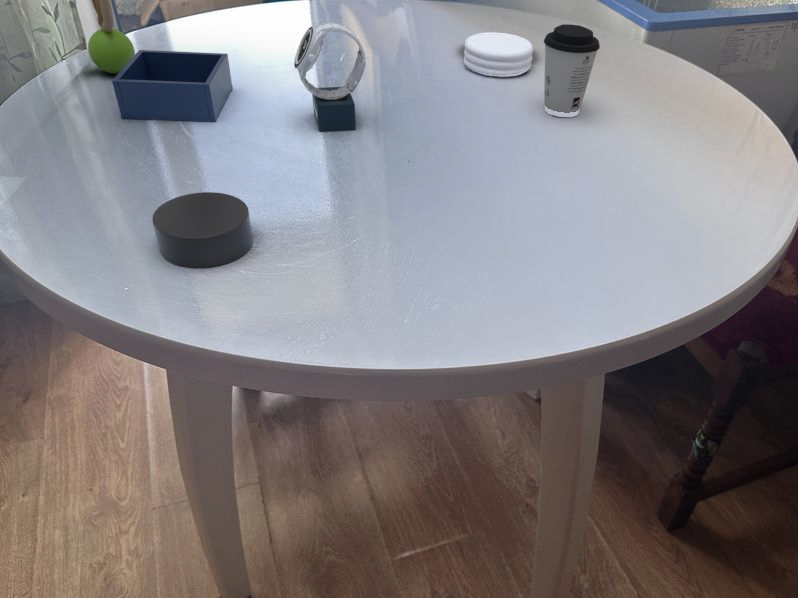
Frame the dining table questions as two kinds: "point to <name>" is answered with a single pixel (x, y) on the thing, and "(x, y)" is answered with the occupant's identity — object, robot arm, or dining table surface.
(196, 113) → the blue open box
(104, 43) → the green maraca
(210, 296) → the dining table surface
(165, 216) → the stand
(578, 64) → the coffee cup
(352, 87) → the watch
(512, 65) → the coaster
